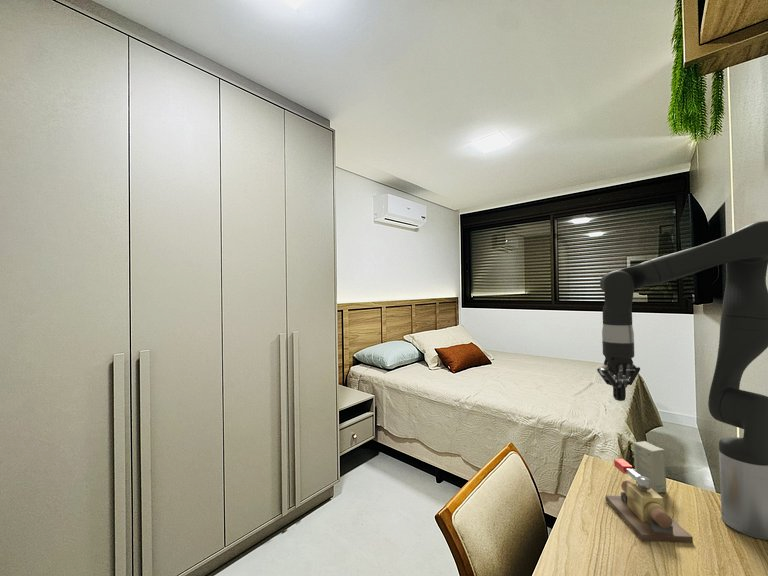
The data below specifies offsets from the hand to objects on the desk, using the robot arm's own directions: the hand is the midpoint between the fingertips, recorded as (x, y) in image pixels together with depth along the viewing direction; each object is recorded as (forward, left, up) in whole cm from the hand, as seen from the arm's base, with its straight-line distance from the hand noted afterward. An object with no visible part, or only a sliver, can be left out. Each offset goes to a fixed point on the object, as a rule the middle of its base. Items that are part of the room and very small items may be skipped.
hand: (619, 399), depth 96 cm
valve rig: (+1, +11, -27) cm, 29 cm away
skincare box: (-10, -4, -27) cm, 29 cm away
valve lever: (+1, +7, -18) cm, 20 cm away
